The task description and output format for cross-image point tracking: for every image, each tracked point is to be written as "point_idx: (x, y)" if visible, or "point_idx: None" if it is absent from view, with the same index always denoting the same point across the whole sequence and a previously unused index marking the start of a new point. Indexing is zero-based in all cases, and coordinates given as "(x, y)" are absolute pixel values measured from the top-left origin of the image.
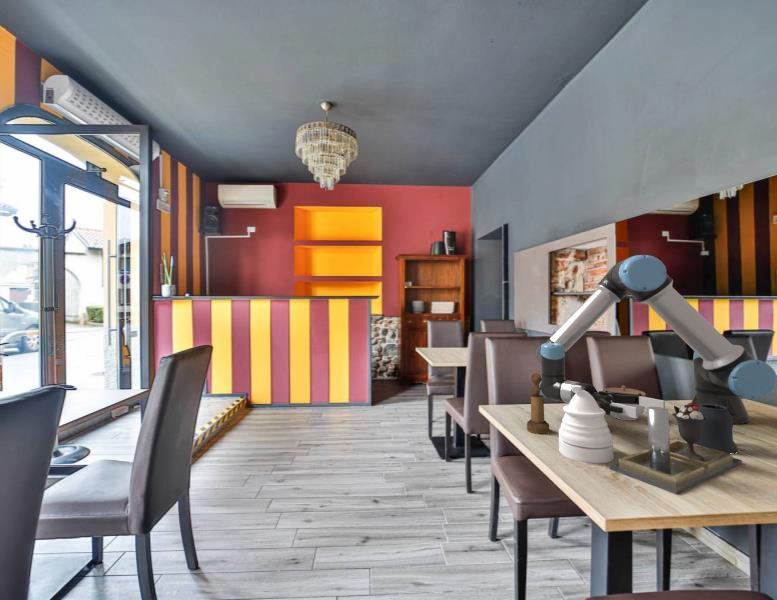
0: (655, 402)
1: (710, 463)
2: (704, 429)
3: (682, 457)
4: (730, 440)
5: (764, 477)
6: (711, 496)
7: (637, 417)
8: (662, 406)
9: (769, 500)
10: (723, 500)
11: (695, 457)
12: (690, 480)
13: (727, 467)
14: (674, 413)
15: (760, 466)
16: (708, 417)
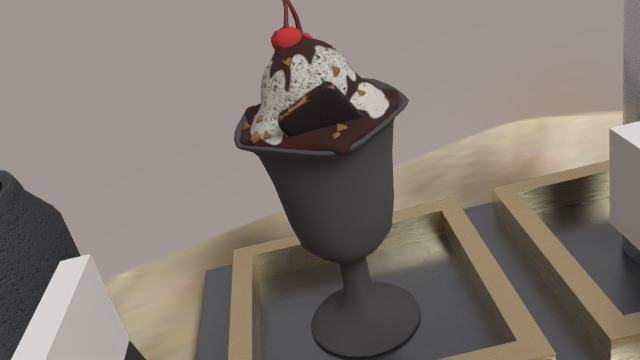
0: (83, 334)
1: (433, 202)
2: None
3: (487, 251)
4: None
5: None
6: (609, 151)
7: (610, 217)
8: (112, 310)
9: (456, 142)
10: (592, 140)
11: (377, 288)
12: None
13: None
14: (343, 135)
15: (188, 261)
16: (62, 228)
